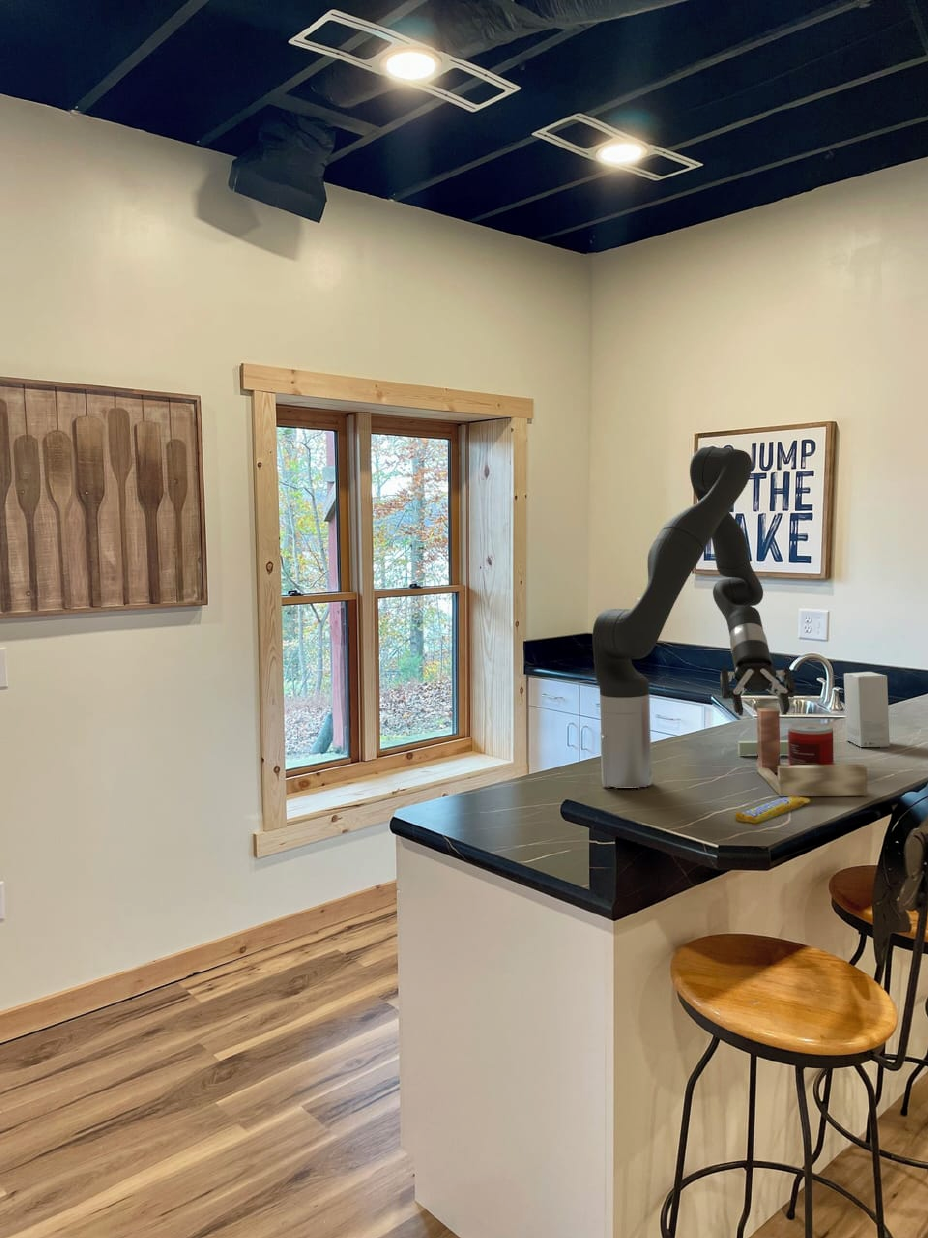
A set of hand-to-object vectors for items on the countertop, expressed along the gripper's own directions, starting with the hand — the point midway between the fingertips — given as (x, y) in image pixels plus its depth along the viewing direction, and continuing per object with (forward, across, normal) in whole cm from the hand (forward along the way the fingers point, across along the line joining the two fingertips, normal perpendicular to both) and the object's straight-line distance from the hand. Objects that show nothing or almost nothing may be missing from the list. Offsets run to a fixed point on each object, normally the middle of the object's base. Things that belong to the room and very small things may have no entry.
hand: (763, 712), depth 178 cm
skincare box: (-6, +26, +22) cm, 35 cm away
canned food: (+19, +5, -3) cm, 20 cm away
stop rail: (0, +5, +15) cm, 16 cm away
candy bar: (+31, -6, -14) cm, 34 cm away
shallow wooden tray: (+17, +5, -2) cm, 18 cm away
